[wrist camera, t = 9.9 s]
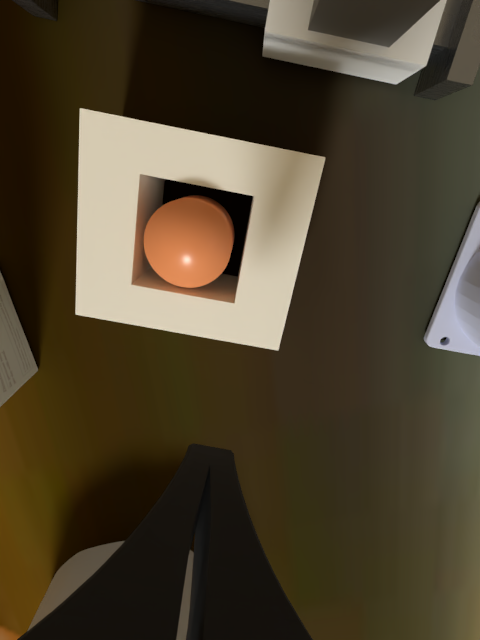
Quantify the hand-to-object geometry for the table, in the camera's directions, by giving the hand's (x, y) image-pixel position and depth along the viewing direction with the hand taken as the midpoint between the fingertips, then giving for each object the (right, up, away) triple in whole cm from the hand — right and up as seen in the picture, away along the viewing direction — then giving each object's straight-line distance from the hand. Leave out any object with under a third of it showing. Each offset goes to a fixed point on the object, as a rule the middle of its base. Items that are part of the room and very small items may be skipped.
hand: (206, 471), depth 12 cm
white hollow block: (-1, +10, +7) cm, 12 cm away
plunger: (-1, +9, +7) cm, 12 cm away
